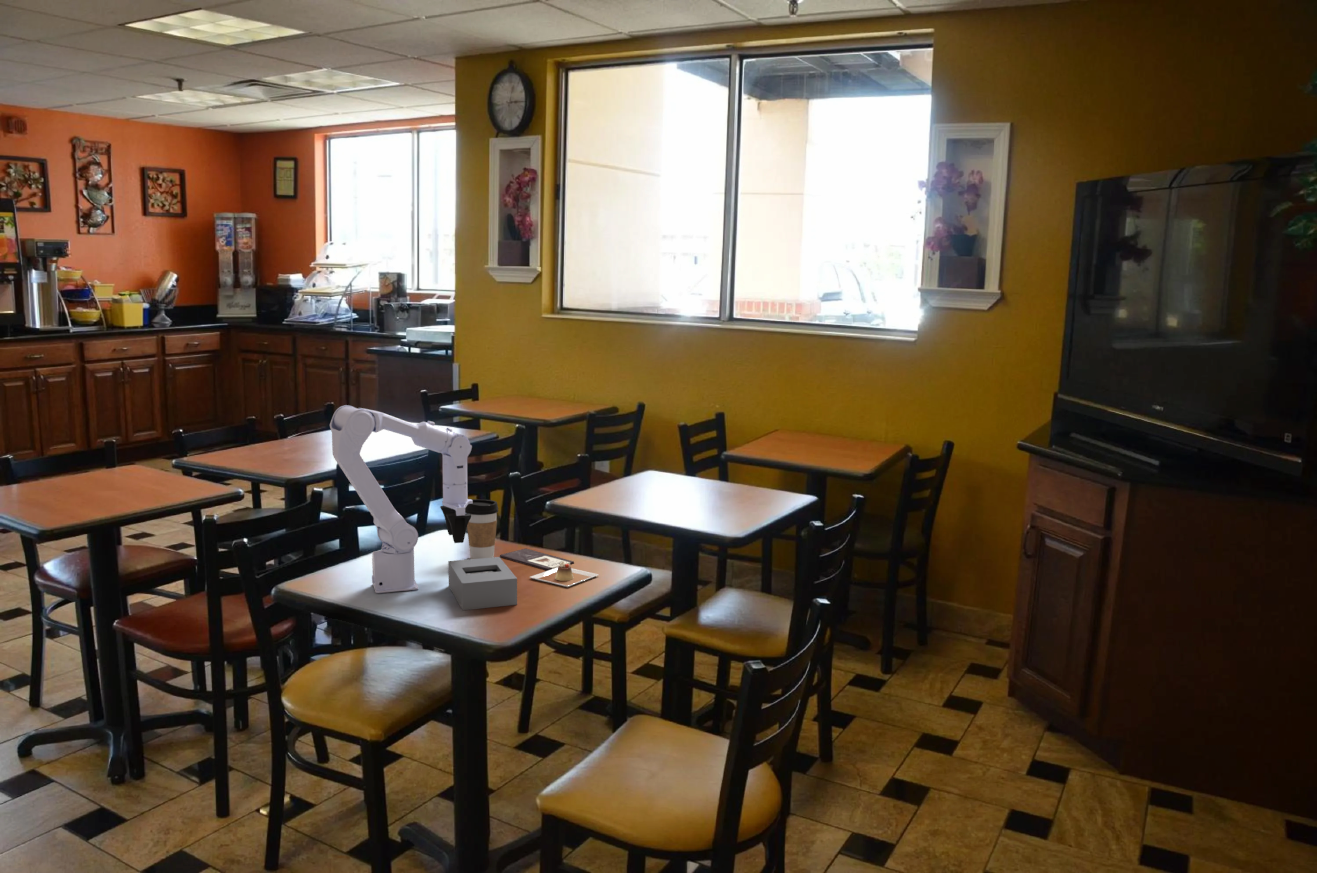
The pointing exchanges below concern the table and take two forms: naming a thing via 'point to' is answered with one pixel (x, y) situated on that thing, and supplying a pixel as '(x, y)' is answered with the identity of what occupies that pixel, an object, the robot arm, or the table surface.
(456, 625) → the table surface
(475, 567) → the grey tissue box
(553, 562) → the chocolate bar
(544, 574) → the dessert
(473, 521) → the coffee cup
